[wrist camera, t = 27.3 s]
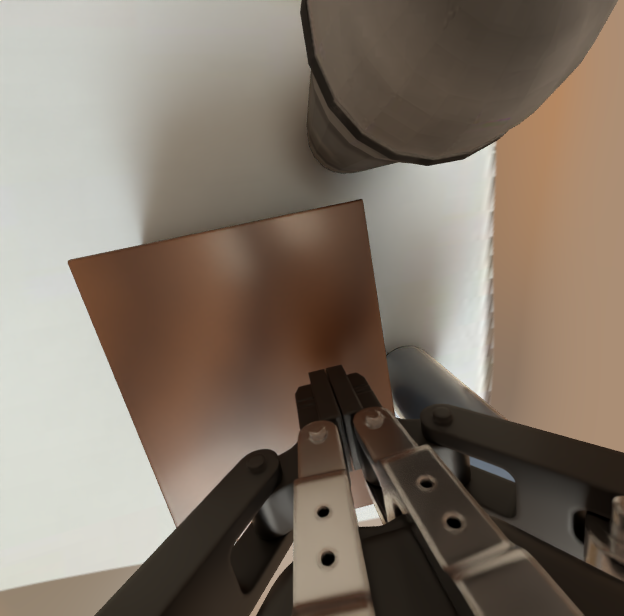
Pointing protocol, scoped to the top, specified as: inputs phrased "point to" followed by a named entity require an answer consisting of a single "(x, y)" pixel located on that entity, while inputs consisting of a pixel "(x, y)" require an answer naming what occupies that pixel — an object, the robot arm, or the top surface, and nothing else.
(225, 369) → the lid
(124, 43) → the top surface
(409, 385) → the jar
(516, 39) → the beverage cup
